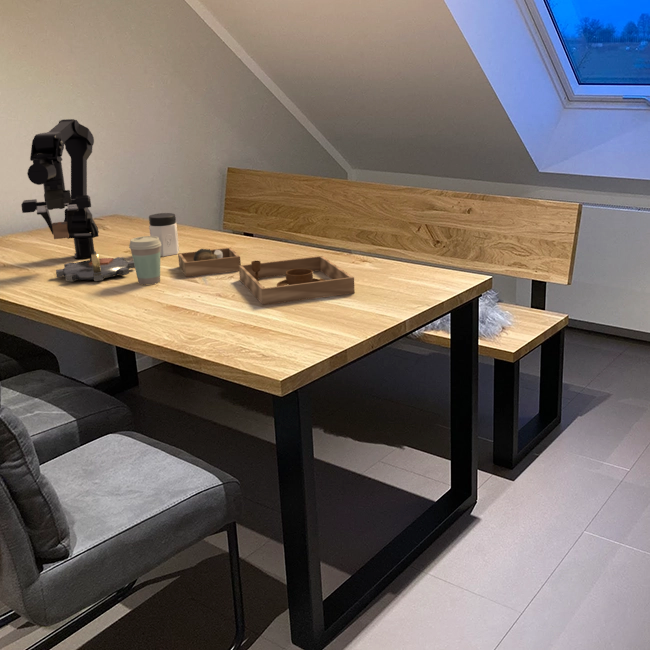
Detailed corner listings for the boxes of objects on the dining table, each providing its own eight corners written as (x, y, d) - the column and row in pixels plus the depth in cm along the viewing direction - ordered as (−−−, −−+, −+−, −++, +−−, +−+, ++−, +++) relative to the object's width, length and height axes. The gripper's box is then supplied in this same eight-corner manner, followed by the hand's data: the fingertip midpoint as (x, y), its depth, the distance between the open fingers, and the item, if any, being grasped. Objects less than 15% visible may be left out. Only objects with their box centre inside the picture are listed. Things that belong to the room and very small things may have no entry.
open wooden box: (179, 266, 233) (178, 253, 231) (231, 260, 237) (230, 247, 236) (186, 277, 221) (184, 263, 220) (241, 270, 226) (240, 256, 224)
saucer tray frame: (239, 279, 216) (238, 265, 215) (322, 269, 223) (321, 255, 222) (263, 305, 193) (262, 289, 192) (354, 293, 200) (354, 277, 198)
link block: (54, 236, 232) (52, 222, 231) (68, 235, 233) (66, 221, 232) (54, 239, 229) (51, 225, 227) (68, 237, 230) (66, 223, 228)
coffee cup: (154, 276, 223) (149, 234, 220) (171, 281, 217) (166, 238, 214) (127, 282, 218) (122, 239, 214) (144, 288, 212) (139, 244, 208)
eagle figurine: (194, 262, 232) (187, 264, 223) (206, 241, 231) (199, 242, 222) (217, 276, 232) (210, 278, 224) (229, 255, 231) (223, 257, 222)
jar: (157, 257, 244) (153, 219, 241) (147, 253, 251) (143, 215, 247) (184, 253, 249) (180, 215, 245) (174, 248, 256) (170, 211, 252)
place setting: (276, 300, 198) (275, 277, 196) (248, 282, 215) (247, 261, 213) (339, 290, 205) (338, 267, 203) (307, 273, 222) (306, 252, 220)
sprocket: (56, 267, 235) (53, 245, 233) (131, 258, 241) (129, 237, 239) (57, 285, 215) (53, 262, 213) (139, 275, 221) (136, 252, 219)
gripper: (16, 185, 216) (25, 242, 221) (87, 180, 221) (94, 235, 226) (19, 180, 226) (27, 234, 231) (87, 175, 231) (94, 228, 236)
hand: (61, 233), depth 231 cm, fingers closed on link block, 4 cm apart
